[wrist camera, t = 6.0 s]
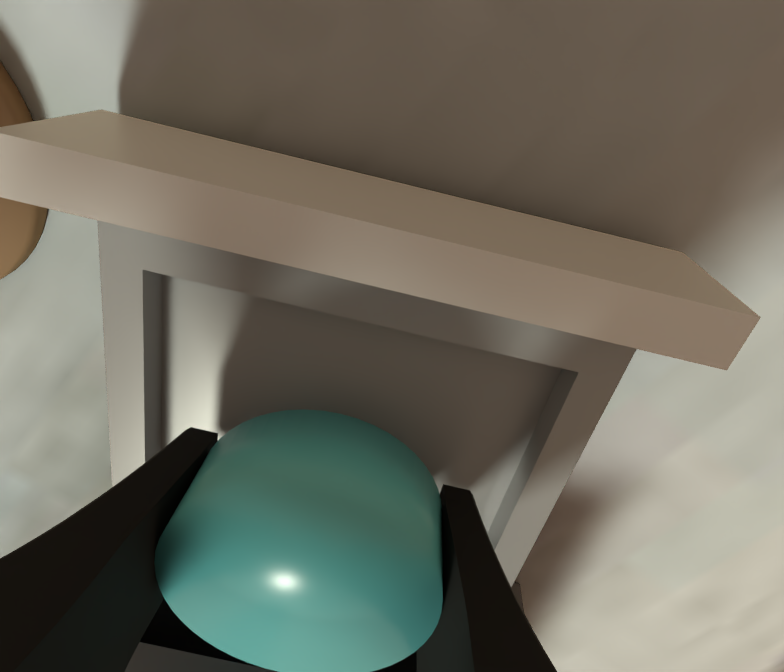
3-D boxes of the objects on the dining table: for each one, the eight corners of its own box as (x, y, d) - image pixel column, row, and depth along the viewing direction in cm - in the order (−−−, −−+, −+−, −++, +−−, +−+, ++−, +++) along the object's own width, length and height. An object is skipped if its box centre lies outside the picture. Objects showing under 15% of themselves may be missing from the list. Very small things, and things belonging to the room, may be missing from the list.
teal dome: (194, 561, 12) (154, 645, 11) (204, 382, 10) (153, 454, 8) (410, 607, 13) (405, 698, 11) (473, 444, 10) (480, 527, 8)
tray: (120, 513, 16) (56, 605, 13) (101, 109, 10) (-14, 129, 8) (502, 598, 16) (514, 702, 14) (682, 252, 11) (760, 317, 8)
